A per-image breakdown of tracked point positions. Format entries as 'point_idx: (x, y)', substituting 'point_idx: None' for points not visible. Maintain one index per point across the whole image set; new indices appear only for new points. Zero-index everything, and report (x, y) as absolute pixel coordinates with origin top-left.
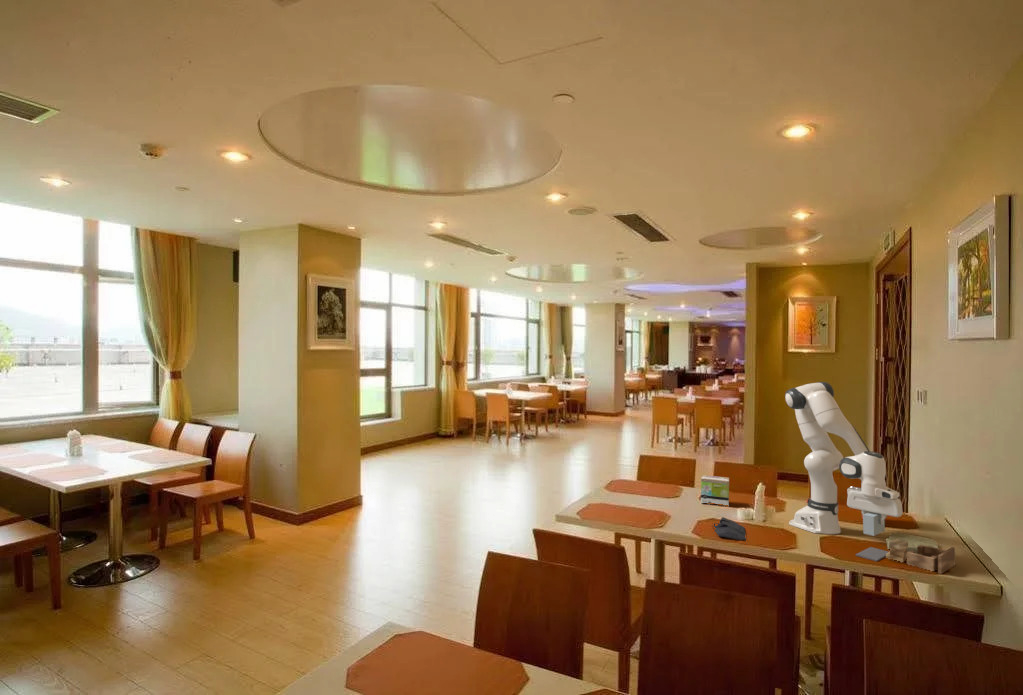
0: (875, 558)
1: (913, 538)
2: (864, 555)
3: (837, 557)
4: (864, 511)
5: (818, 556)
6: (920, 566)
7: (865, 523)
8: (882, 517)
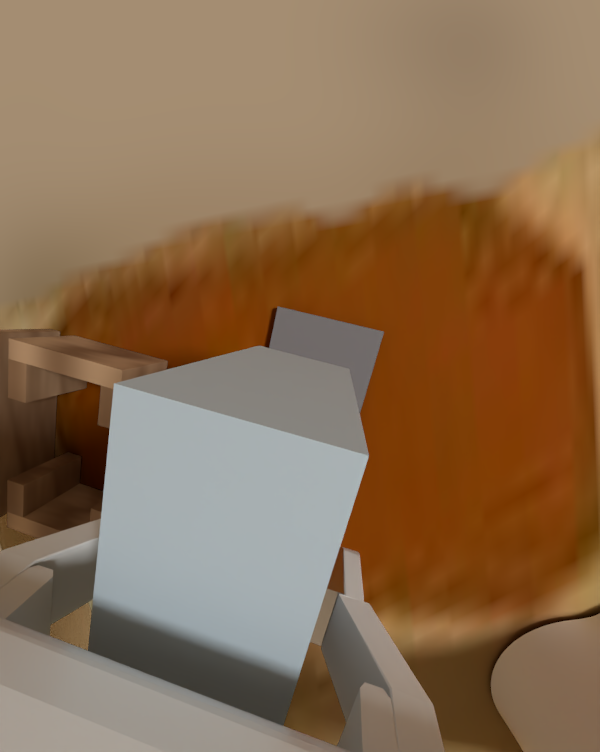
0: (286, 330)
1: None
2: (340, 343)
3: (473, 218)
4: (366, 731)
5: (594, 139)
6: (111, 347)
7: (323, 386)
8: (53, 552)
